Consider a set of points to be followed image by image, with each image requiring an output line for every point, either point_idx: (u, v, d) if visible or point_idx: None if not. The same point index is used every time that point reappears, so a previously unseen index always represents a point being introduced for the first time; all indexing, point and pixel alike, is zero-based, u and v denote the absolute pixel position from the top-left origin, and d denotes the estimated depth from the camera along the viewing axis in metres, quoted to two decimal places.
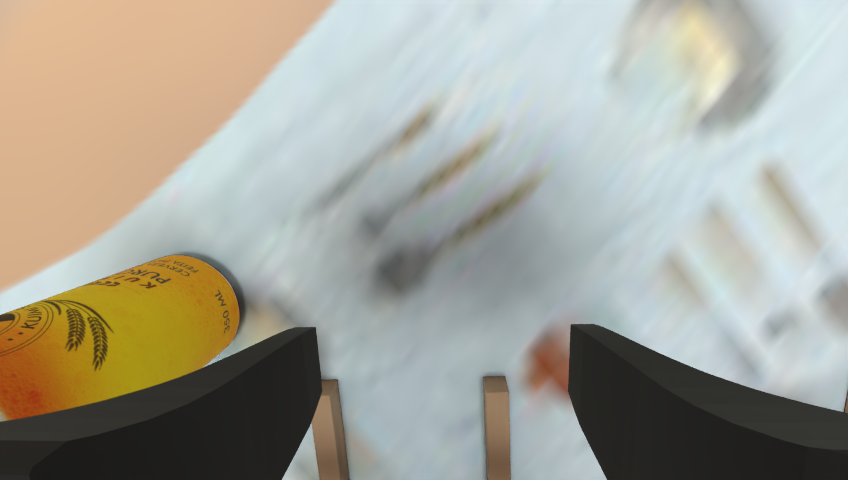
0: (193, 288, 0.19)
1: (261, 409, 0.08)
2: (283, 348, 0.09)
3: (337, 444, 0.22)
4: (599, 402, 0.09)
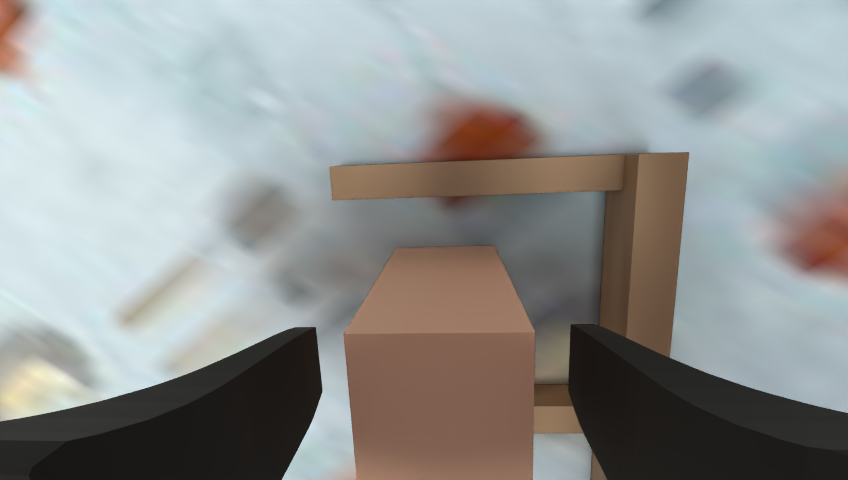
0: None
1: (261, 409, 0.08)
2: (283, 348, 0.09)
3: None
4: (599, 402, 0.09)
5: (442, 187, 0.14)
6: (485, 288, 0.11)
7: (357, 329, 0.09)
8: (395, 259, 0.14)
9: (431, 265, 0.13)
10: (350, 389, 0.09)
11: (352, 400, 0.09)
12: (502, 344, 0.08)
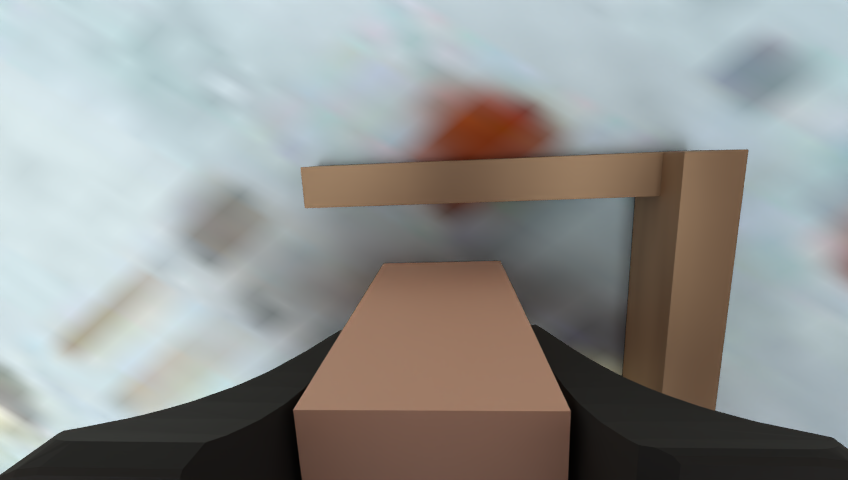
0: None
1: None
2: None
3: None
4: None
5: (438, 192, 0.11)
6: (493, 326, 0.08)
7: (314, 401, 0.06)
8: (381, 280, 0.12)
9: (424, 289, 0.11)
10: None
11: None
12: (521, 427, 0.06)
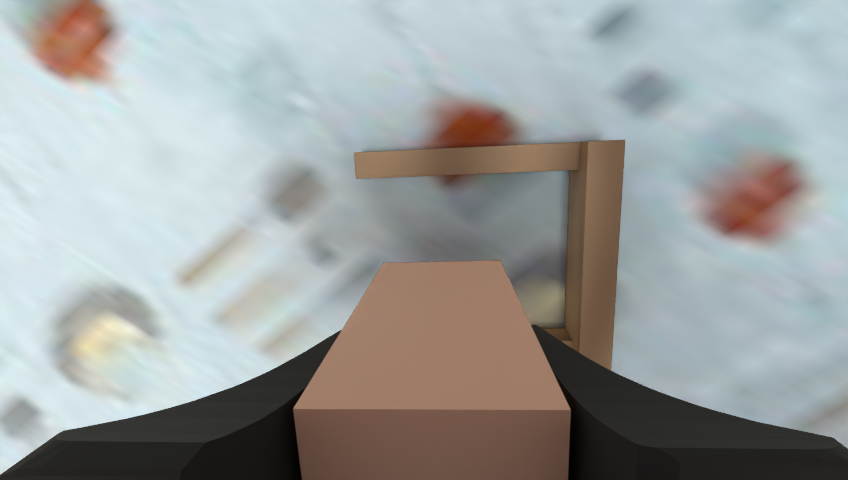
0: None
1: None
2: None
3: None
4: None
5: (441, 168, 0.18)
6: (493, 325, 0.08)
7: (314, 400, 0.06)
8: (380, 279, 0.12)
9: (423, 288, 0.11)
10: None
11: None
12: (522, 426, 0.06)
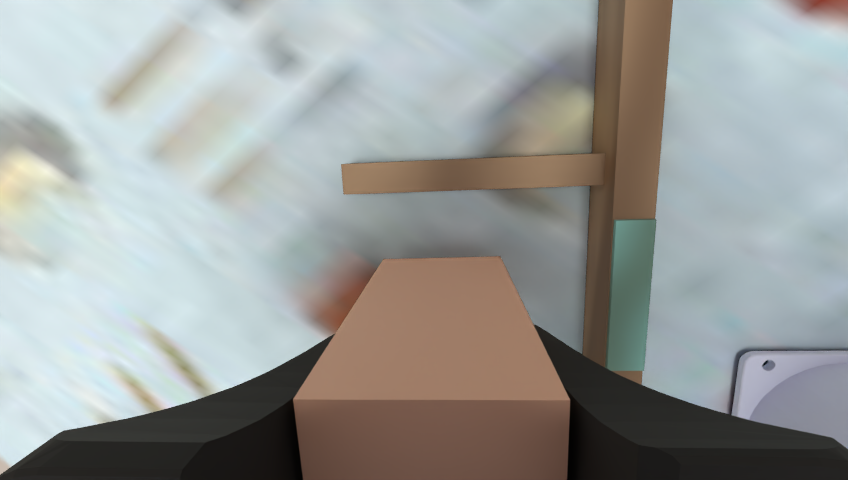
0: None
1: None
2: None
3: None
4: None
5: None
6: (493, 319, 0.08)
7: (314, 391, 0.06)
8: (380, 275, 0.12)
9: (424, 283, 0.11)
10: (304, 475, 0.06)
11: None
12: (521, 416, 0.06)
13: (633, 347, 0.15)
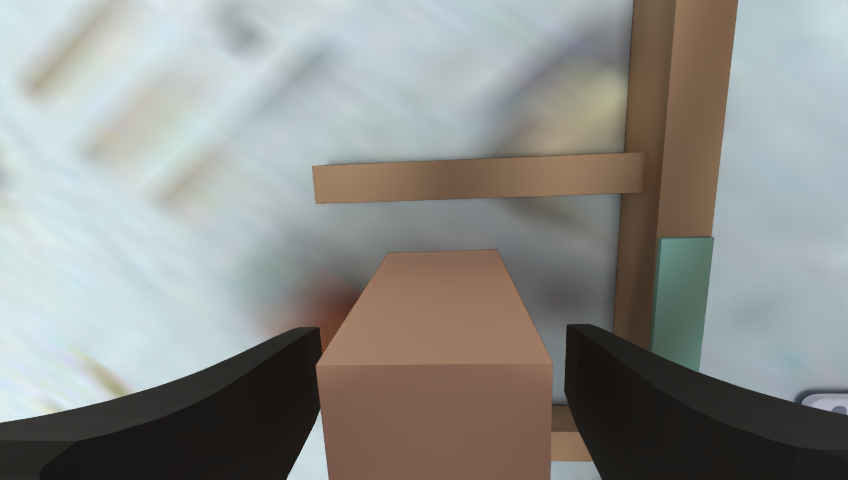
0: None
1: (266, 409, 0.08)
2: (287, 348, 0.09)
3: None
4: (594, 402, 0.09)
5: None
6: (488, 302, 0.09)
7: (333, 359, 0.07)
8: (386, 266, 0.13)
9: (426, 273, 0.12)
10: (325, 432, 0.07)
11: (328, 444, 0.07)
12: (511, 378, 0.07)
13: None
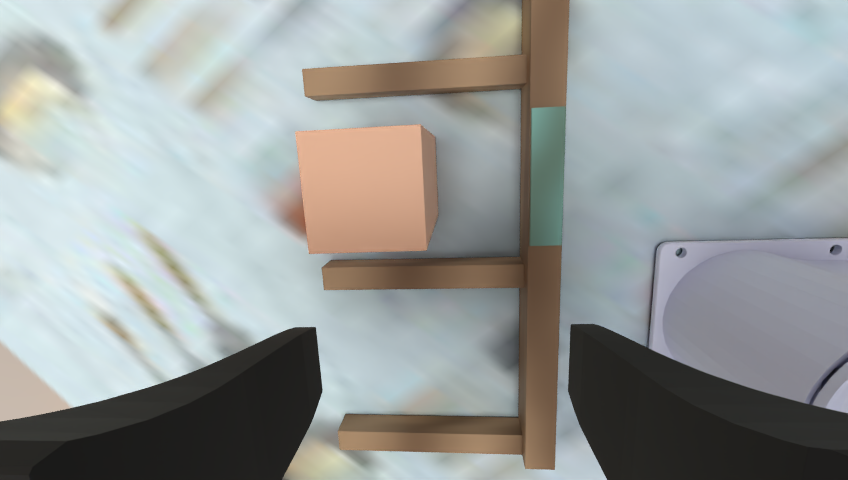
0: None
1: (261, 409, 0.08)
2: (283, 348, 0.09)
3: (395, 429, 0.22)
4: (599, 402, 0.09)
5: None
6: None
7: (305, 131, 0.13)
8: None
9: None
10: (301, 173, 0.13)
11: (302, 181, 0.13)
12: (399, 134, 0.12)
13: (551, 223, 0.18)
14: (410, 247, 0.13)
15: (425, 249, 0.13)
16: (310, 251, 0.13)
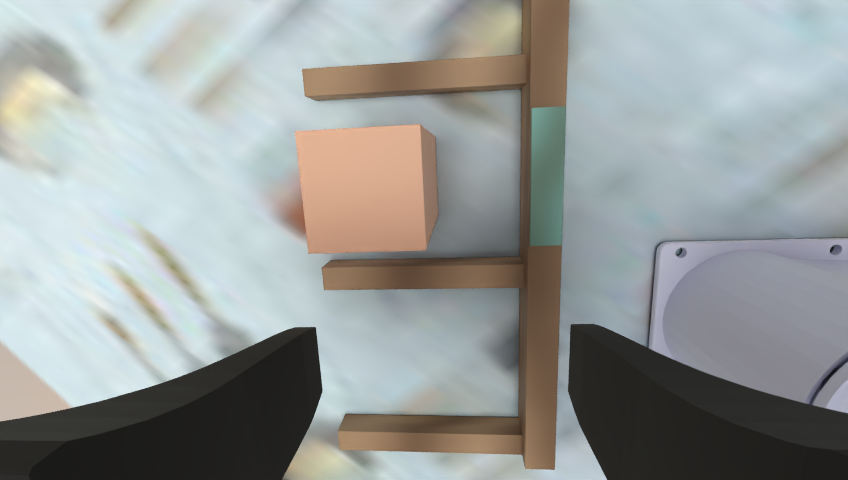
0: None
1: (261, 409, 0.08)
2: (283, 348, 0.09)
3: (395, 429, 0.22)
4: (599, 402, 0.09)
5: None
6: None
7: (305, 131, 0.13)
8: None
9: None
10: (300, 173, 0.13)
11: (302, 181, 0.13)
12: (398, 134, 0.12)
13: (551, 223, 0.18)
14: (410, 247, 0.13)
15: (425, 249, 0.13)
16: (310, 251, 0.13)
